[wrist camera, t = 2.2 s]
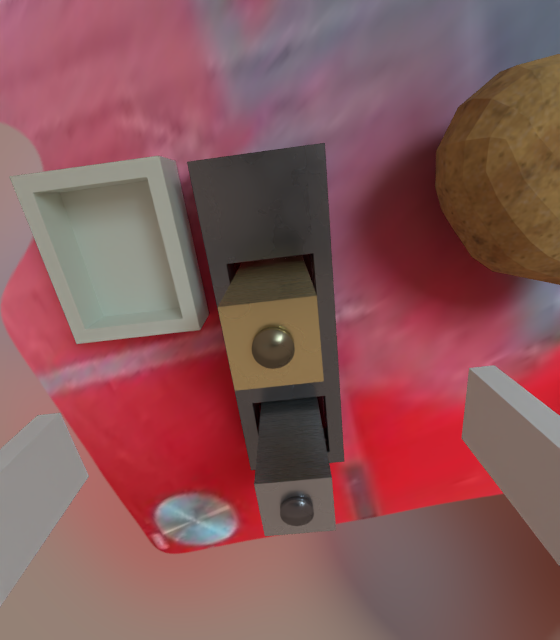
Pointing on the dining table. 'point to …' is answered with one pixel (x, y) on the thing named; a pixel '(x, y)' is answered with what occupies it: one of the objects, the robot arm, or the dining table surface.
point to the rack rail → (273, 255)
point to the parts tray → (117, 247)
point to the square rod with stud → (293, 469)
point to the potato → (507, 172)
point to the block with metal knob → (272, 325)
